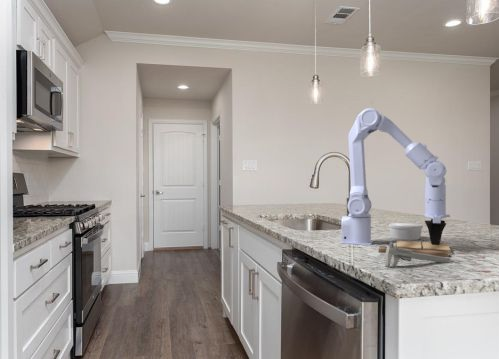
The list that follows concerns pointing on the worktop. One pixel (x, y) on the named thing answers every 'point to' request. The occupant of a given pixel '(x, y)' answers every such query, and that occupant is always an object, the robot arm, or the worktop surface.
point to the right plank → (436, 246)
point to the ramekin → (405, 231)
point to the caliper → (408, 256)
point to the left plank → (408, 244)
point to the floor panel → (420, 251)
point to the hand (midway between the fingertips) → (435, 244)
